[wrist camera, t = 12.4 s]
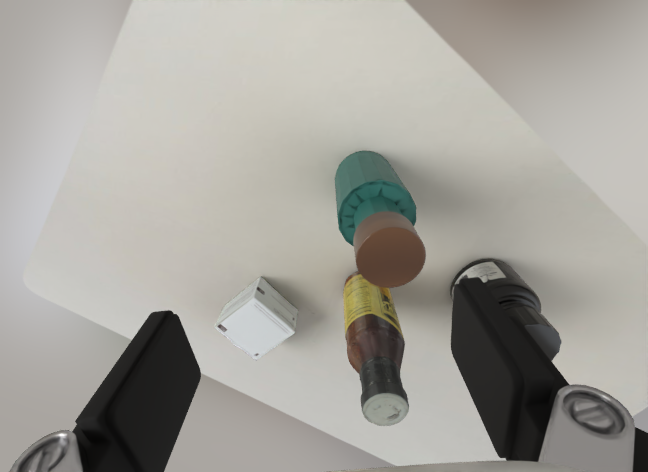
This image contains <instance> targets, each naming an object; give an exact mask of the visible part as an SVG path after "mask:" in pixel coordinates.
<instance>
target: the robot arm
mask: <svg viewBox="0 0 648 472" xmlns="http://www.w3.org/2000/svg"><path fill="white" fill-rule="evenodd" d="M451 350H452V354H453V357H454V359H455V361H456V364H457V366H458V368H459V370H460V372H461V375H462V377H463V379H464V381H465V384H466V386H467V388H468V390H469V392H470V395H471V397H472V399H473V401H474V404H475V406H476V408H477V410H478V412H479V415H480V417H481V419H482V421H483V424H484V426H485V428H486V430H487V432H488V435H489V437H490V439H491V441H492V444H493V446H494V448H495V450H496V452H497V454H498V456H499V457H500V458H506V460H507V461H476V462H458V463H440V464H424V465H410V466H396V467H384V468H370V469H355V470H341V471H329V472H648V433H646V432H644V431H642V430H640V429H638V428H636V427H635V425H634V421H633V418H632V416H631V415H630V413H629V411H628V410H627V409H626V408H625V407H624V406H623V405H622V404H621V403H620V402H619V401H618V400H616V399H615V398H613V397H612V396H610V395H609V394H607V393H605V392H603V391H601V390H599V389H596V388H593V387H589V386H586V385H569V384H568V382H567V381H566V380H565V379H564V377H563V376H562V375H561V373H560V372H559V371H558V370H557V368H556V367H555V366H554V364H553V363H552V362H551V361H550V359H549V358H548V357H547V355H546V354H545V353H544V351H543V350H542V349H541V348H540V346H539V345H538V344H537V342H536V341H535V340H534V339H533V337H532V336H531V335H530V333H529V332H528V331H527V330H526V328H525V327H524V326H523V324H522V323H521V322H520V321H519V319H518V318H517V317H516V316H514V315H507V313H506V312H505V311H504V309H503V308H502V307H501V305H500V304H499V303H498V301H497V300H496V299H495V297H494V296H493V295H492V293H491V292H490V291H489V289H488V288H487V286H486V285H485V284H484V282H483V281H482V280H481V279H480V278H479V277H473V278H464V279H460V281H459V284H454V291H453V312H452V333H451ZM200 377H201V372H200V368H199V366H198V363H197V361H196V358H195V356H194V353H193V351H192V348H191V346H190V343H189V341H188V339H187V336H186V334H185V331H184V329H183V326H182V324H181V321H180V319H179V317H178V315H177V314H173V312H172V311H169V310H168V311H159V312H153V313H151V314H150V315H149V317H148V318H147V320H146V321H145V323H144V324H143V325H142V327H141V328H140V330H139V331H138V333H137V334H136V335H135V337H134V338H133V340H132V341H131V343H130V344H129V345H128V347H127V348H126V350H125V351H124V353H123V354H122V355H121V357H120V358H119V360H118V361H117V362H116V364H115V365H114V367H113V368H112V370H111V371H110V372H109V374H108V375H107V377H106V378H105V380H104V381H103V382H102V384H101V385H100V387H99V388H98V390H97V391H96V392H95V394H94V395H93V397H92V398H91V400H90V401H89V403H88V404H87V405H86V407H85V408H84V410H83V411H82V412H81V414H80V415H79V417H78V418H77V419H76V421H75V422H76V423H77V425H76V427H75V429H74V430H73V431H72V432H71V431H69V430H61V431H57V432H54V433H51V434H49V435H47V436H45V437H43V438H41V439H40V440H38V441H37V442H35V443H34V444H32V445H31V446H30V447H29V448H28V449H27V450H25V451H24V452H23V453H22V454H21V456H20V457H19V458H18V459H17V460H16V461H15V463H14V465H13V466H12V468H11V470H10V472H164V470H165V467H166V465H167V462H168V460H169V457H170V455H171V452H172V450H173V447H174V445H175V442H176V440H177V437H178V435H179V432H180V429H181V427H182V424H183V422H184V419H185V417H186V414H187V412H188V409H189V407H190V404H191V402H192V399H193V397H194V394H195V392H196V389H197V386H198V383H199V381H200Z"/></svg>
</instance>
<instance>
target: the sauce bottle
mask: <svg viewBox="0 0 648 472" xmlns="http://www.w3.org/2000/svg"><path fill="white" fill-rule="evenodd" d="M343 298H344V318H345V337H346V340H347V354H348V358H349V362H350V364H351V365H352V367H353V368H354V369H355V370H356V371H357V372H358V373H359V374H360V380H361V383H362V395H361V406H362V412H363V414H364V417H365V418H366V419H367V420H368V421H369V422H371V423H374V424H376V425H379V426H390V425H394V424H396V423H399V422H400V421H401V420H403V419H404V417H405V416H406V415H407V413H408V409H409V404H408V398H407V394H406V392H405V390H404V389H403V387H402V382H401V378H400V368H401V363H402V358H403V352H404V346H405V343H404V338H403V335H402V331H401V328H400V324H399V321H398V317H397V314H396V310H395V307H394V303H393V300H392V296H391V293H390V289H389V288H385V287H379V286H376V285H373V284H371V283H369V282H368V281H367V280H365V279H364V278H363V277H362V275H361V274H360V273H359V271H358V272H355V273H354V274H352V275H351V276H350V277H348V278H347V280H346V283H345V286H344V292H343Z"/></svg>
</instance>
